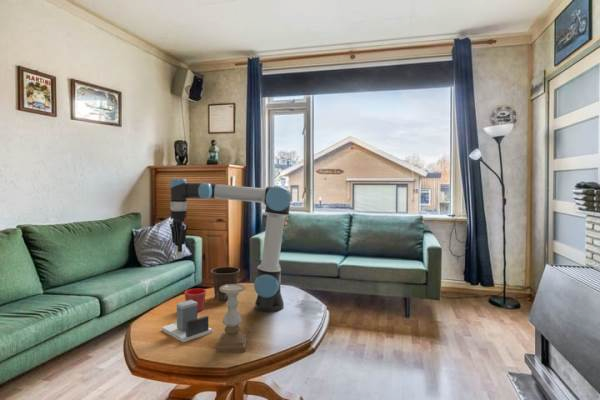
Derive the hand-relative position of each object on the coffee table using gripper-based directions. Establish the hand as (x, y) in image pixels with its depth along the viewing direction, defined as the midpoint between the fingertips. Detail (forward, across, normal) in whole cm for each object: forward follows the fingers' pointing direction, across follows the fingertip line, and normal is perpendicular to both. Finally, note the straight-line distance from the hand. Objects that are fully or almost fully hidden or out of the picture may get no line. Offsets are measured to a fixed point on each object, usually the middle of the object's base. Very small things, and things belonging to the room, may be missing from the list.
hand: (178, 258), depth 175 cm
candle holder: (+29, +47, -3) cm, 55 cm away
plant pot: (+29, -6, +32) cm, 44 cm away
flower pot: (+29, -1, +10) cm, 30 cm away
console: (+28, +21, -8) cm, 36 cm away
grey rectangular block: (+27, +21, -8) cm, 35 cm away
